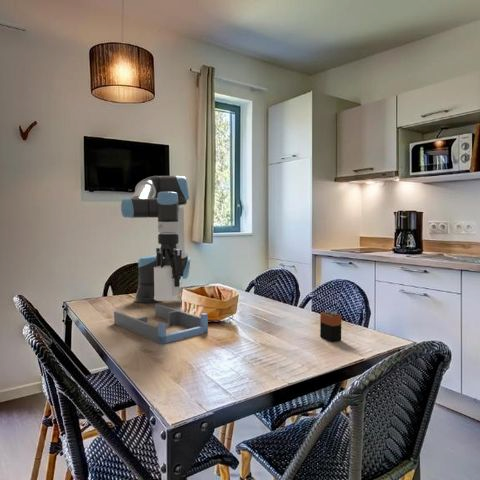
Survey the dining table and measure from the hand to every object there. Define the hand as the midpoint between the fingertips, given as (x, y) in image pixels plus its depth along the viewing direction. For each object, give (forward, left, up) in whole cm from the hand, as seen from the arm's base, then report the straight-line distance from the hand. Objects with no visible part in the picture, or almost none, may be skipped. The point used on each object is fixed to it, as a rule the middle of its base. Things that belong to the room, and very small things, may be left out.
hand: (169, 293), depth 148 cm
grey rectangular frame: (0, -9, -15) cm, 17 cm away
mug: (0, 0, -2) cm, 2 cm away
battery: (-37, +47, -15) cm, 61 cm away
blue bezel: (0, +9, -15) cm, 17 cm away
